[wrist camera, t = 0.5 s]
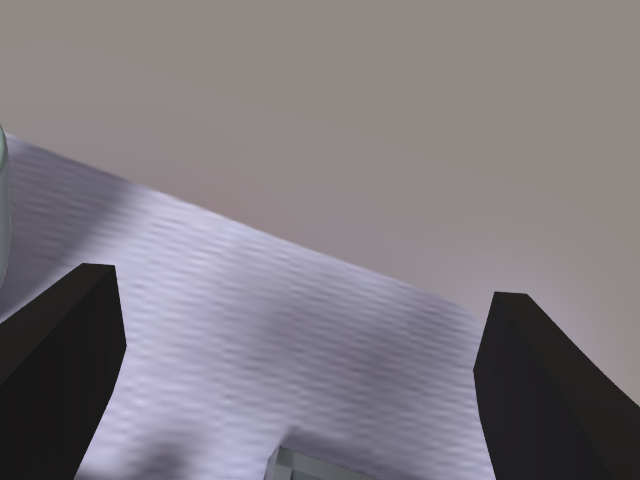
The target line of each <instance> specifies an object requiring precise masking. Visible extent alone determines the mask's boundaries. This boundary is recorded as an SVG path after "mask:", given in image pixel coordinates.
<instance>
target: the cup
mask: <svg viewBox="0 0 640 480" xmlns="http://www.w3.org/2000/svg"><path fill="white" fill-rule="evenodd" d="M11 241H12V198H11V178H10V165H9V156H8V146H7V140H6V136H5V134H4V132H3V129H2V127H1V125H0V289H1V287H2V284H3V282H4V279H5V276H6V273H7V268H8V263H9V256H10V250H11Z"/></svg>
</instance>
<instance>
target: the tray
mask: <svg viewBox="0 0 640 480" xmlns="http://www.w3.org/2000/svg"><path fill="white" fill-rule="evenodd" d="M264 480H379V479H376V478H373V477H370V476H367V475H364V474H361V473H358V472H355V471H352V470H349V469H346V468H343V467H340V466H337V465H334V464H331V463H328V462H325V461H322V460H319V459H316V458H313V457H311V456H308V455H305V454H302V453H299V452H296V451H293V450H290V449H287V448H284V447H281V446H279V447H278V449H277V450H276V451H275V452H274V453H273V455H272V456H271V457H270V458H269V460H268V464H267V468H266V472H265V476H264Z"/></svg>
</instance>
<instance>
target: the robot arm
mask: <svg viewBox="0 0 640 480" xmlns="http://www.w3.org/2000/svg"><path fill="white" fill-rule="evenodd" d="M126 347H127V344H126V337H125V331H124V324H123V317H122V311H121V304H120V297H119V291H118V284H117V277H116V270H115V265H105V264H90V263H82V264H80V265H79V266H78V267H76V268H75V269H73V270H72V271H71V272H69V273H68V274H66V275H65V276H64V277H62V278H61V279H60V280H58V281H57V282H56V283H55V284H53V285H52V286H51V287H49V288H48V289H47V290H45V291H44V292H43V293H41V294H40V295H39V296H37V297H36V298H35V299H33V300H32V301H31V302H29V303H28V304H27V305H25V306H24V307H22V308H21V309H20V310H18V311H17V312H16V313H14V314H13V315H12V316H10V317H9V318H8V319H6V320H5V321H3V322H2V323H1V324H0V480H73V479H74V477H75V475H76V472H77V470H78V468H79V466H80V464H81V462H82V459H83V457H84V455H85V453H86V451H87V449H88V446H89V444H90V442H91V440H92V438H93V436H94V433H95V431H96V429H97V427H98V425H99V422H100V420H101V418H102V416H103V414H104V411H105V409H106V407H107V405H108V402H109V400H110V398H111V396H112V393H113V390H114V387H115V384H116V381H117V378H118V375H119V371H120V368H121V364H122V361H123V358H124V354H125V351H126ZM473 372H474V380H475V388H476V396H477V403H478V410H479V417H480V421H481V425H482V429H483V433H484V437H485V440H486V444H487V448H488V452H489V455H490V459H491V463H492V466H493V470H494V474H495V477H496V480H640V407H639V406H638V405H637V404H636V403H635V402H634V401H632V400H631V399H630V398H629V397H628V396H627V395H626V394H625V393H624V392H623V391H621V390H620V389H619V388H618V387H617V386H616V385H615V384H614V383H613V382H612V381H611V380H610V379H609V378H608V377H607V376H606V375H604V373H603V372H602V371H601V370H600V369H599V368H598V367H596V366H595V364H593V363H592V362H591V360H590V359H589V358H588V357H587V356H586V355H585V354H584V353H583V352H582V351H581V350H580V349H579V348H578V347H577V346H576V345H575V344H574V343H573V342H572V341H571V340H570V339H569V338H568V337H567V336H566V335H565V334H564V332H563V331H562V330H561V329H560V328H559V327H558V326H557V325H556V324H555V323H554V322H553V321H552V320H551V318H550V317H549V316H548V315H547V314H546V313H545V312H544V311H543V310H542V309H541V308H540V307H539V306H538V305H537V304H536V303H535V302H534V301H533V299H532V298H531V297H530V296H529V295H527V294H522V293H508V292H494V296H493V299H492V303H491V307H490V310H489V314H488V318H487V321H486V325H485V329H484V332H483V336H482V340H481V343H480V347H479V351H478V354H477V358H476V362H475V365H474V369H473Z"/></svg>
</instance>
